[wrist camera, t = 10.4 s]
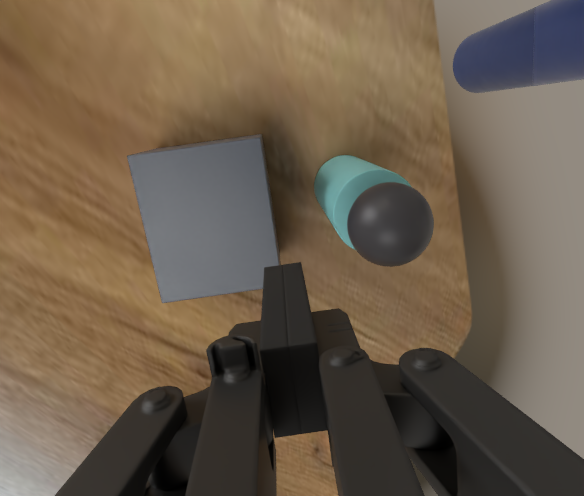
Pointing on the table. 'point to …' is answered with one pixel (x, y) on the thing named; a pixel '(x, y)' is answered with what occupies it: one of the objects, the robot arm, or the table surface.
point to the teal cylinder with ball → (374, 210)
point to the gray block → (207, 216)
